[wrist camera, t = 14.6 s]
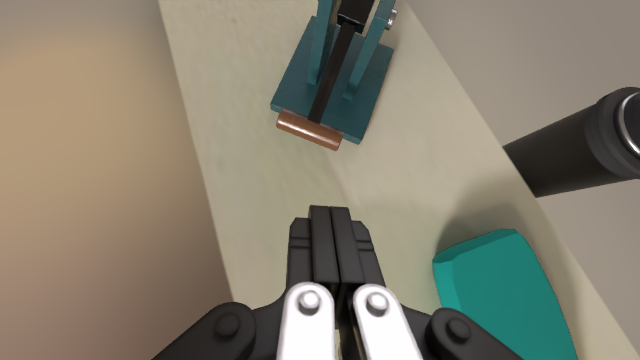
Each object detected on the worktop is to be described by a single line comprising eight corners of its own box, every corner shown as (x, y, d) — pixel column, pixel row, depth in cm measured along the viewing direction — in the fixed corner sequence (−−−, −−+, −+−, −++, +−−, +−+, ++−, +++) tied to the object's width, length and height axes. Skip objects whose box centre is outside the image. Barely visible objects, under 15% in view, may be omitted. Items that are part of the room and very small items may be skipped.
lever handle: (336, 149, 25) (336, 153, 23) (279, 126, 25) (273, 128, 22) (394, 6, 22) (401, -7, 20) (330, -21, 22) (330, -37, 19)
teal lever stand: (358, 144, 29) (406, 80, 18) (270, 109, 29) (262, 20, 18) (390, 56, 32) (448, -47, 21) (311, 23, 32) (326, -100, 21)
